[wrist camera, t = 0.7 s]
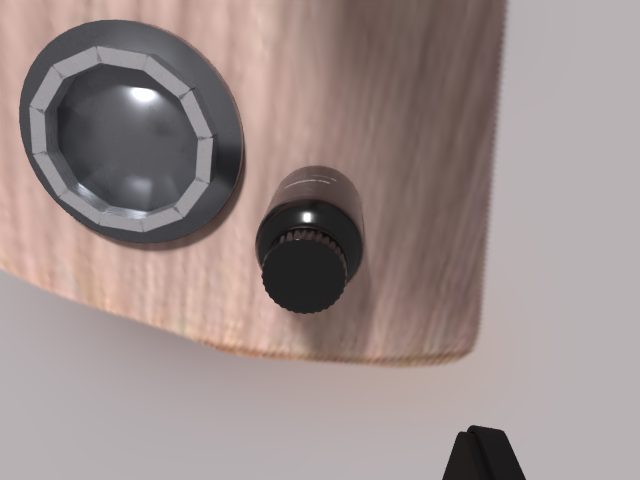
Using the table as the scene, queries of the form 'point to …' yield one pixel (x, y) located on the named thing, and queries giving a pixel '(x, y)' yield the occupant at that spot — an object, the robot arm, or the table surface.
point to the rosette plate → (131, 130)
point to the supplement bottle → (310, 239)
